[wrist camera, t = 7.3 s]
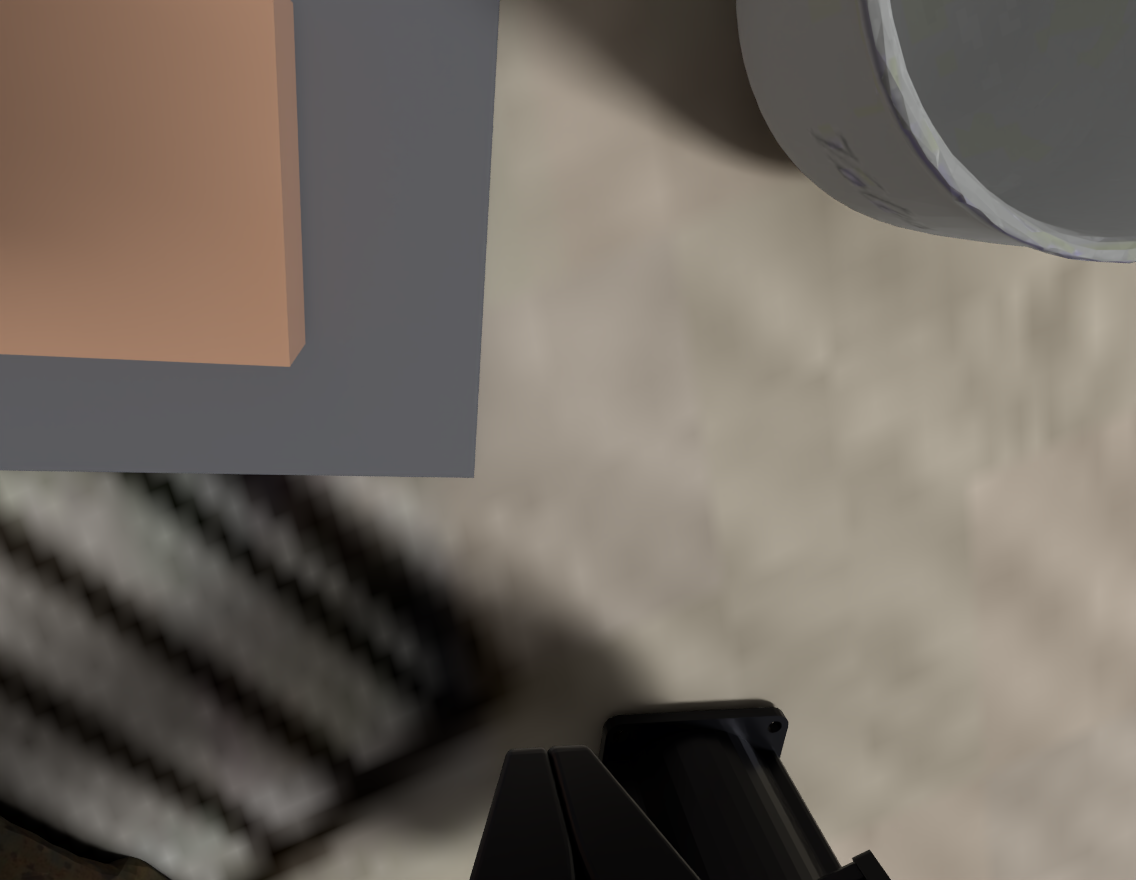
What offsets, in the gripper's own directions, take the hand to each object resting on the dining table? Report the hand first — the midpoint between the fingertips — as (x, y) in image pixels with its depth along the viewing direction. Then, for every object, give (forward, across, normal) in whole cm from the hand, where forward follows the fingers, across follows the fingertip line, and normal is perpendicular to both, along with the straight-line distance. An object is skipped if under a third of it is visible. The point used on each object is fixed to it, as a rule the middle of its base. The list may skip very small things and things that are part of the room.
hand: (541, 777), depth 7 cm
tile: (+11, +4, -5) cm, 13 cm away
